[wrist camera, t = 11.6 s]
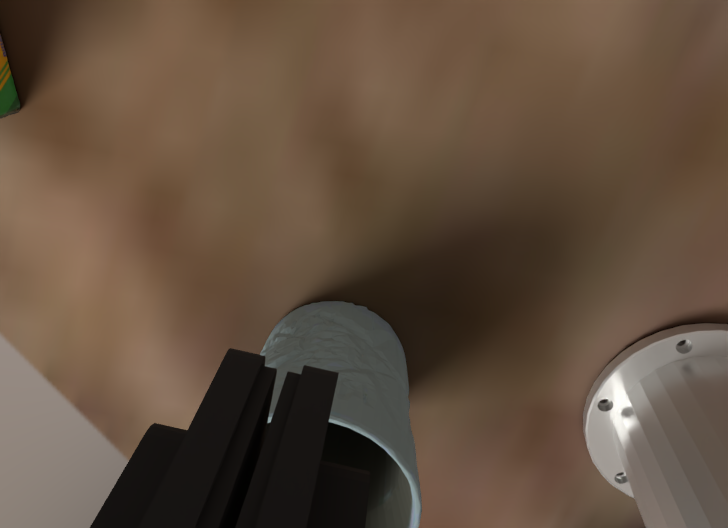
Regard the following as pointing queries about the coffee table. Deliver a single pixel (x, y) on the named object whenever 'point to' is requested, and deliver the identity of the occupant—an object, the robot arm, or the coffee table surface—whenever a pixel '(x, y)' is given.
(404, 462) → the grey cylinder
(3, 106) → the chalk box
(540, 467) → the coffee table surface
